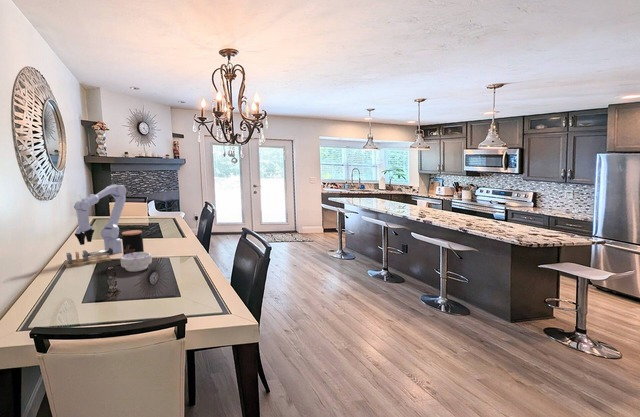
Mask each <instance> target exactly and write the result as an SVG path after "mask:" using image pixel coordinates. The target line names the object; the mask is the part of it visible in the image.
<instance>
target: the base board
mask: <svg viewBox="0 0 640 417" xmlns="http://www.w3.org/2000/svg"><path fill="white" fill-rule="evenodd" d="M79 259H80V262H77V261H76V259H72V264H69V263H68V262H67V260H64V261H63V263H64V265H65V267H66V268H68V269H69V268H75V267H77V268H78V267H82V266H87V265H95V264H100V263H106V262H112V257H110V256H109V255H106V254H100V255H94V256H88V260H89V261H85V260H83V257H82V258H79Z"/></svg>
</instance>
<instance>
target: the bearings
mask: <svg viewBox="0 0 640 417" xmlns="http://www.w3.org/2000/svg"><path fill="white" fill-rule="evenodd" d="M88 253H89V252H88V251H87V250H82V254H84V257H82V258H83V260H85V261H89V260H88V258H89V256H88ZM80 259H81V258H80V253H79V251H75V260H76V261H77V262H80ZM72 260H73V257H72V254H71V252H66V261H67V262H68V263H69V264H72Z"/></svg>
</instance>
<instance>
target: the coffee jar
mask: <svg viewBox="0 0 640 417" xmlns="http://www.w3.org/2000/svg"><path fill="white" fill-rule="evenodd" d="M142 233H143V230H140V229H135V230H133V229H132V230H127V231H123V232H121V235H122V236H121V245H122V256H123V255H125V254H129V253H135V252H145V250H144V239H143V237H144V235H143V234H142Z"/></svg>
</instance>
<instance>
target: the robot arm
mask: <svg viewBox="0 0 640 417" xmlns="http://www.w3.org/2000/svg"><path fill="white" fill-rule="evenodd" d="M126 193H127V188H126V186H125V185H122V184H110V185H108V186H106V187H105V188H104V189H102V190H101V191H99V192H98V193H96V194H94V193H92V194H90V193H89V194H88V196H87V197H84V198H82V199H81V200H77V201H76V202H75V203H74V206H73V208H74V210H76V215H77V226H78V228H76V230H75V233H74V236H75V238H77V240H78V243H79V245H80V246H84V245H85V242H86V241H87V243H91V242H92V241H93V240H92V239H93V234H94V232H95V229H93V225H90V216H89V210H90V207H92V206H94V205H95V204H98V203H99V202H100V199H102V198H105V197H107V196H108V195H110V196H112V197H113V199H114V200H115V202H114V204H113V208H112V211H111V213H110V217H109V219H108V222H107V224H105V225H104V226H103V229H101V231H100V236H101V238H103V243H104V244H103V248H104V250H108V248H112V249H113V254H114V255H115V254H120V253H123V245H122V239H121V238H119V234H120V233H119V231H120V228H119V226H118V225H119V221H120V218H121V215H122V213H123V212H122V211H123V209H124V207H125V203H126V200H127V198H126V197H127V196H126V195H127V194H126ZM85 239H86V241H85ZM113 254H112V255H113ZM105 255H107V256H109V253H107V254H105Z"/></svg>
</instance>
